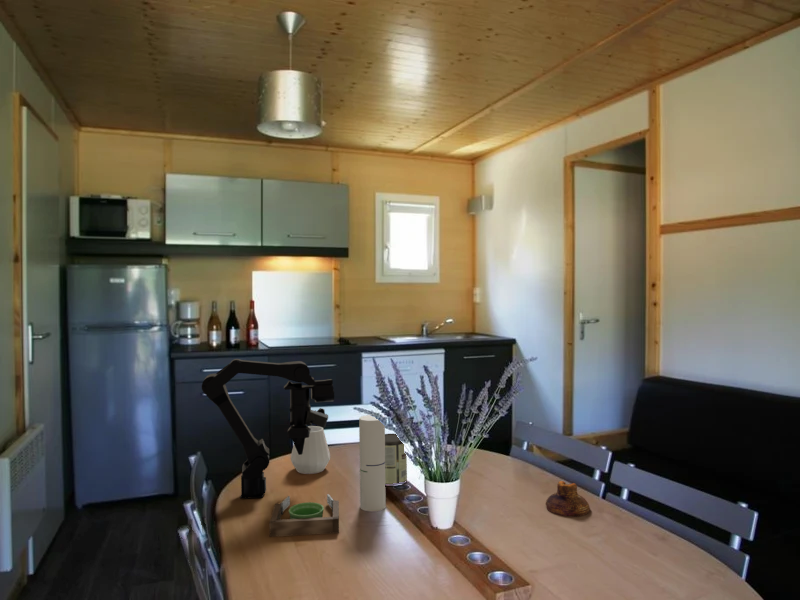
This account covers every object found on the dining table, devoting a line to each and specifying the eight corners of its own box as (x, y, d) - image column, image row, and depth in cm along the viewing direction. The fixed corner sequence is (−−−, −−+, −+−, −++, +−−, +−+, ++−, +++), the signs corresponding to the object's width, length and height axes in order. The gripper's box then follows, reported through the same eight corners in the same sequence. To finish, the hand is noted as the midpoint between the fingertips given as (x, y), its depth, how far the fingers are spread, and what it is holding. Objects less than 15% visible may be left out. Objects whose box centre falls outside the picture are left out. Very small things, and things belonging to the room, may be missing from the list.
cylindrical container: (382, 512, 152) (381, 421, 152) (357, 510, 153) (356, 420, 153) (388, 502, 159) (387, 415, 159) (363, 501, 160) (363, 414, 160)
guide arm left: (282, 514, 151) (282, 503, 151) (279, 514, 151) (279, 503, 151) (290, 506, 157) (290, 495, 157) (287, 506, 157) (287, 495, 157)
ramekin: (307, 515, 151) (306, 499, 150) (331, 523, 145) (331, 506, 145) (281, 527, 143) (281, 510, 143) (306, 535, 138) (305, 518, 138)
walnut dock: (269, 536, 137) (269, 522, 137) (275, 516, 150) (275, 503, 150) (338, 532, 139) (338, 518, 139) (338, 513, 152) (338, 500, 152)
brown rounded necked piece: (536, 506, 156) (536, 480, 156) (568, 498, 162) (568, 473, 161) (566, 521, 146) (566, 493, 146) (599, 512, 151) (599, 485, 151)
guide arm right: (335, 511, 153) (335, 500, 153) (332, 512, 152) (332, 501, 152) (329, 504, 158) (329, 493, 158) (326, 504, 158) (326, 494, 158)
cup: (283, 474, 185) (282, 432, 185) (302, 462, 198) (301, 423, 198) (320, 477, 181) (319, 435, 181) (336, 465, 194) (336, 425, 194)
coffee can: (377, 476, 182) (376, 433, 182) (408, 476, 181) (408, 433, 181) (372, 486, 172) (372, 441, 172) (405, 487, 171) (405, 442, 171)
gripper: (325, 408, 161) (326, 462, 161) (327, 396, 180) (327, 445, 180) (286, 409, 160) (287, 464, 160) (292, 397, 178) (292, 446, 179)
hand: (300, 454), depth 170 cm, fingers closed
